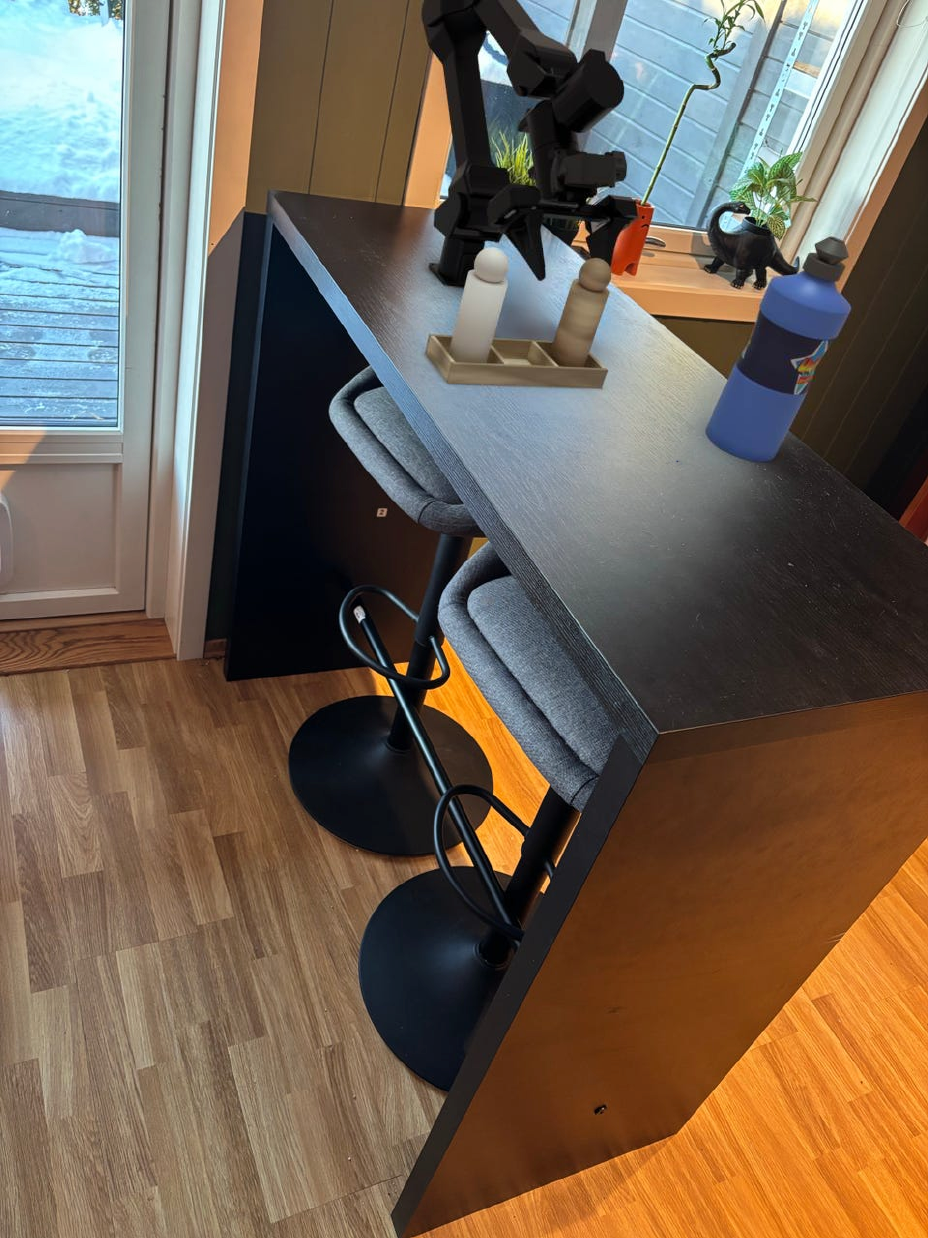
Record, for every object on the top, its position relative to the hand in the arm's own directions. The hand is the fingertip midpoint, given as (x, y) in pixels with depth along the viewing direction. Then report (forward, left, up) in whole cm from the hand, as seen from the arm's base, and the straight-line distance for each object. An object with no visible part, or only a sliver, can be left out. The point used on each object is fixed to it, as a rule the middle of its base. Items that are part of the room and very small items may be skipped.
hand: (573, 281), depth 115 cm
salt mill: (+4, -14, -10) cm, 17 cm away
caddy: (+4, -7, -11) cm, 13 cm away
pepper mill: (+3, 0, -10) cm, 11 cm away
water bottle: (+19, +18, -11) cm, 28 cm away
